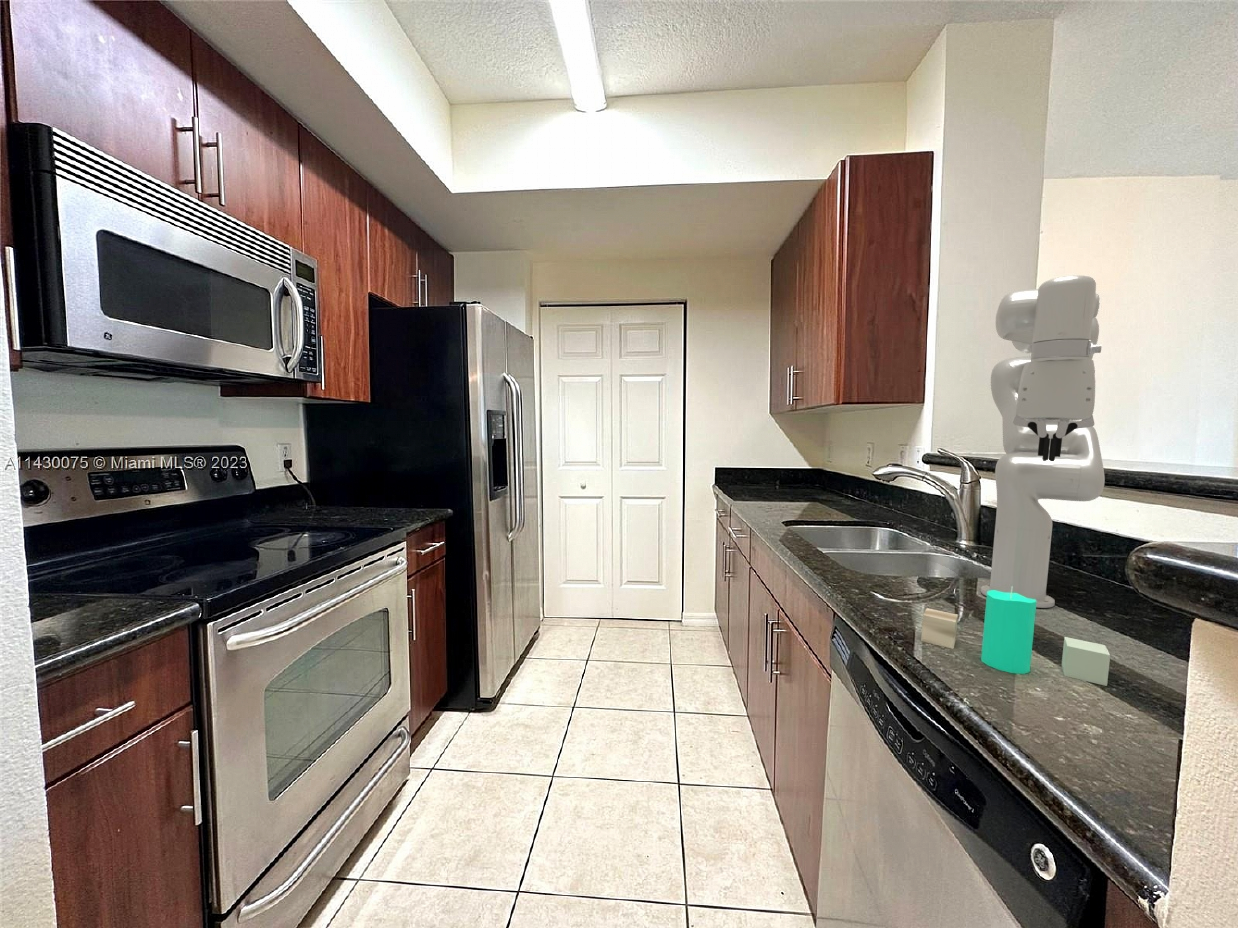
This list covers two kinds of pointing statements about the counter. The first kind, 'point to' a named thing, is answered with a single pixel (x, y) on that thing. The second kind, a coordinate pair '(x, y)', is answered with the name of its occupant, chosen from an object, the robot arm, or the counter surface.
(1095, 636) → the counter surface
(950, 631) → the birch block
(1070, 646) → the sage block
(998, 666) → the candle
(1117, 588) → the counter surface
